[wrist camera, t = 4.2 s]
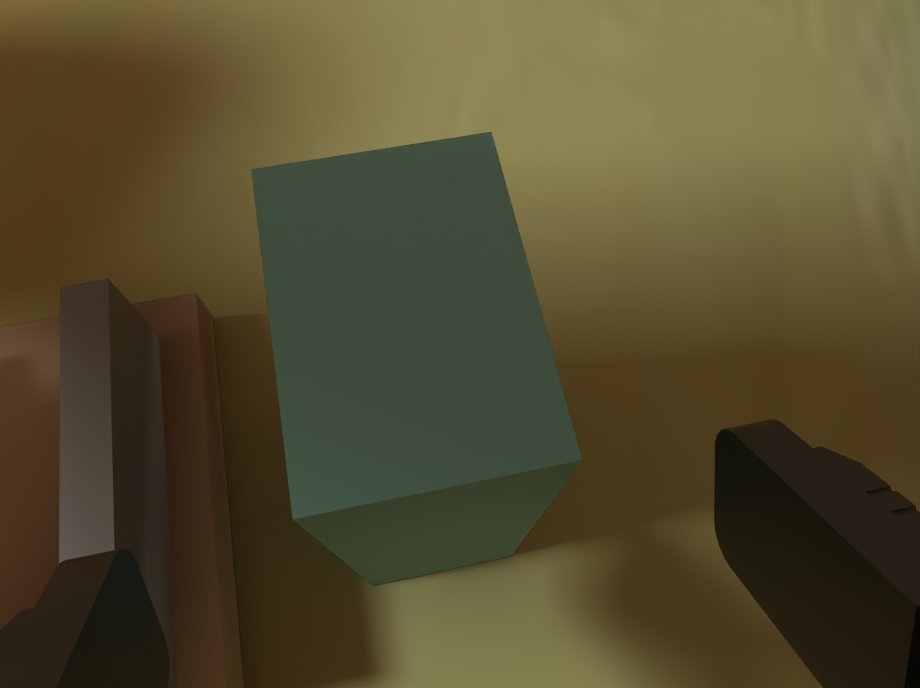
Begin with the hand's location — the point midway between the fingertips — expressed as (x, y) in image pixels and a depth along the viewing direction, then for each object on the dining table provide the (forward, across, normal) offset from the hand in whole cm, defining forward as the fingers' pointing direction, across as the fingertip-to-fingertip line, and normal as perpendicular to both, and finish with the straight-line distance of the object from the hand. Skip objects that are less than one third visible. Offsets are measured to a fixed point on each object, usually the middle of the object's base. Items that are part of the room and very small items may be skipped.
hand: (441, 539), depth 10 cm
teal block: (+8, 0, +4) cm, 9 cm away
